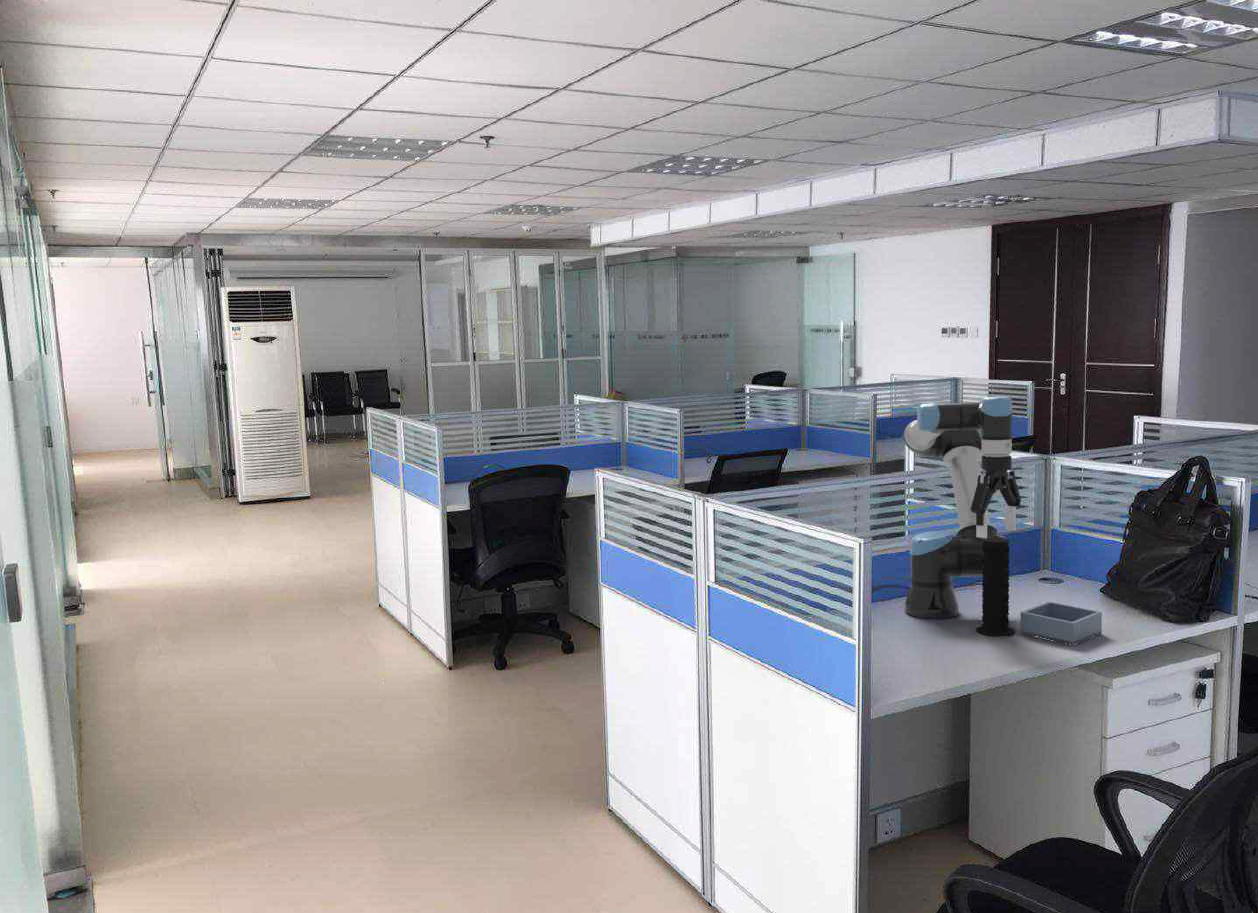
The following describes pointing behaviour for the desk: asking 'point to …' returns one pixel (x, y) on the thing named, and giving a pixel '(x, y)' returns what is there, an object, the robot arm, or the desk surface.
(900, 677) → the desk surface
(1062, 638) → the box
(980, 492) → the robot arm
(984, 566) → the handle grip
